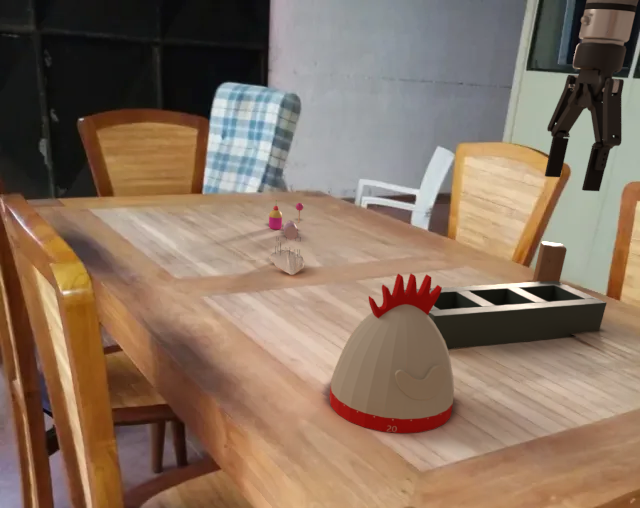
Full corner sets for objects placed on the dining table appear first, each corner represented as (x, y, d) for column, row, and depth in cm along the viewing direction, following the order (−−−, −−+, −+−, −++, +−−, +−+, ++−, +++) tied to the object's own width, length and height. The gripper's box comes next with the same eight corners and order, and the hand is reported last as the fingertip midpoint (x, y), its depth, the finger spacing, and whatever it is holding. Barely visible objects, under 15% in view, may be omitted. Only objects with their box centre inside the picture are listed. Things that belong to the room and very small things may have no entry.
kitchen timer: (474, 425, 77) (500, 292, 70) (359, 439, 73) (374, 298, 66) (415, 374, 89) (432, 255, 82) (312, 384, 84) (321, 258, 77)
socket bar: (598, 334, 107) (607, 302, 105) (429, 351, 96) (434, 316, 94) (549, 310, 116) (556, 280, 114) (390, 322, 105) (394, 290, 103)
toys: (308, 240, 148) (310, 210, 145) (270, 238, 147) (271, 208, 144) (302, 221, 163) (303, 194, 161) (267, 220, 162) (268, 192, 160)
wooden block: (534, 291, 126) (543, 246, 122) (531, 284, 129) (540, 240, 126) (557, 293, 125) (567, 248, 122) (553, 287, 129) (563, 243, 125)
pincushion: (309, 278, 123) (311, 245, 120) (274, 277, 122) (275, 244, 119) (297, 259, 133) (299, 229, 131) (265, 259, 132) (266, 228, 130)
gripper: (544, 40, 122) (519, 170, 131) (623, 40, 100) (586, 196, 110) (584, 44, 123) (557, 172, 133) (671, 45, 101) (630, 198, 111)
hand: (570, 183), depth 121 cm, fingers open, 13 cm apart
